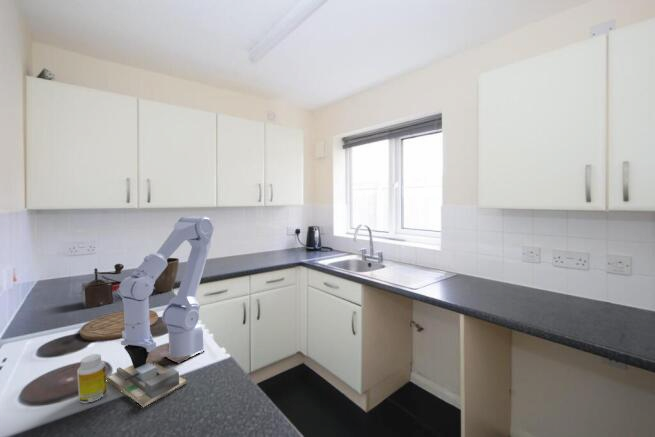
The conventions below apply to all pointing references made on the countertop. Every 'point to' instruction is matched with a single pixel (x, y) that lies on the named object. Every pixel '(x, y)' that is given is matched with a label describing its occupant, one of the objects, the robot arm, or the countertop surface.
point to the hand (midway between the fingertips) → (140, 369)
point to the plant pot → (167, 276)
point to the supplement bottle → (91, 378)
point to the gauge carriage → (144, 373)
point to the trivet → (109, 327)
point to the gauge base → (146, 384)
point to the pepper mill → (99, 290)
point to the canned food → (113, 283)
